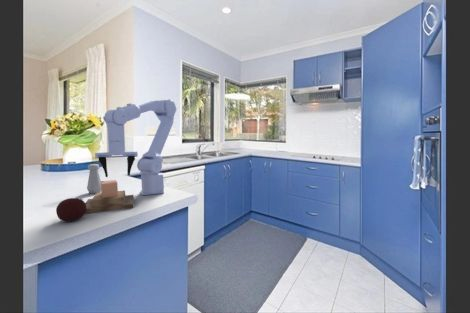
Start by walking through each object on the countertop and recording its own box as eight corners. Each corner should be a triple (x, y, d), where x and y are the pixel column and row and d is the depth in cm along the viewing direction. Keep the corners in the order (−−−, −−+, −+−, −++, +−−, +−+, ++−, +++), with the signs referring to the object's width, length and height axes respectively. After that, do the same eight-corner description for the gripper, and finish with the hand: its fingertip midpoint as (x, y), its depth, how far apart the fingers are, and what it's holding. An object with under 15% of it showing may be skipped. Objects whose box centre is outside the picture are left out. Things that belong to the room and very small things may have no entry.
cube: (116, 192, 87) (115, 179, 86) (117, 195, 83) (117, 182, 82) (101, 194, 84) (100, 181, 84) (102, 197, 80) (101, 184, 79)
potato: (62, 217, 72) (61, 196, 71) (90, 214, 74) (89, 194, 74) (52, 226, 65) (50, 203, 64) (82, 223, 67) (81, 200, 67)
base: (133, 198, 93) (133, 188, 92) (133, 208, 81) (132, 197, 81) (88, 202, 86) (87, 192, 86) (80, 214, 75) (80, 202, 74)
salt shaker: (95, 194, 97) (93, 165, 96) (84, 194, 98) (82, 165, 97) (105, 191, 103) (103, 163, 101) (94, 190, 104) (93, 163, 102)
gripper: (135, 140, 93) (136, 172, 94) (94, 140, 86) (96, 175, 87) (137, 141, 87) (138, 175, 88) (94, 141, 80) (96, 178, 81)
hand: (117, 175), depth 87 cm, fingers open, 7 cm apart
